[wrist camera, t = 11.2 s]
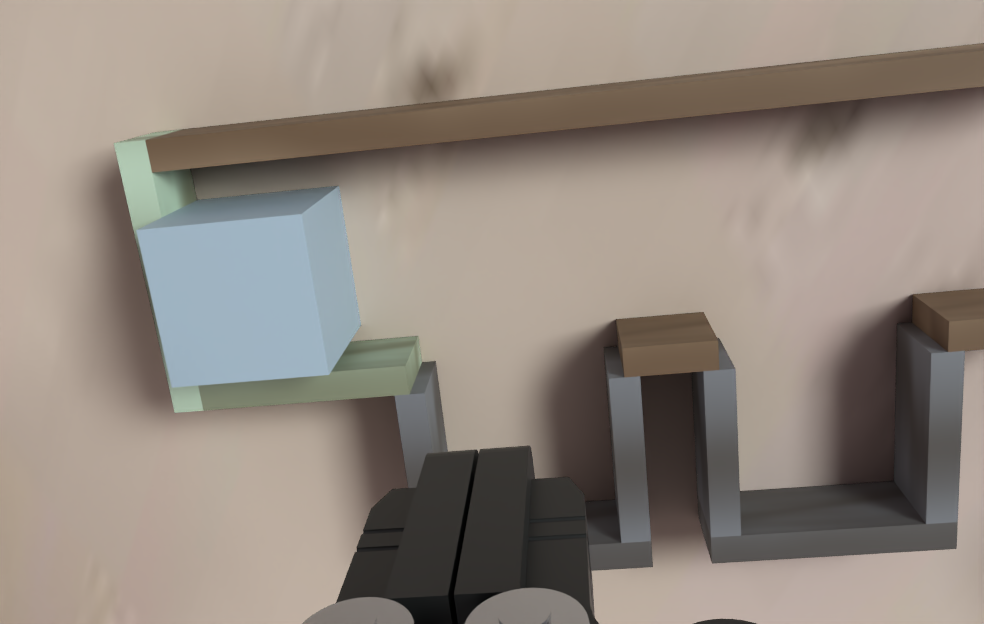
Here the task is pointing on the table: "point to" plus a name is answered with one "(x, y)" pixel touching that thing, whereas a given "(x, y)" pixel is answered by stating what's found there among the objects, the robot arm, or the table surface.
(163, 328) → the block
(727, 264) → the table surface
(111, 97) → the table surface
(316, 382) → the trap box
